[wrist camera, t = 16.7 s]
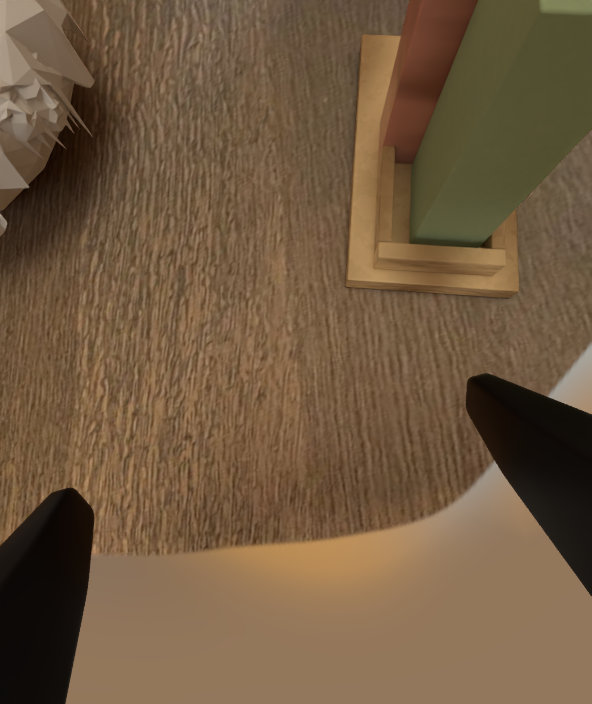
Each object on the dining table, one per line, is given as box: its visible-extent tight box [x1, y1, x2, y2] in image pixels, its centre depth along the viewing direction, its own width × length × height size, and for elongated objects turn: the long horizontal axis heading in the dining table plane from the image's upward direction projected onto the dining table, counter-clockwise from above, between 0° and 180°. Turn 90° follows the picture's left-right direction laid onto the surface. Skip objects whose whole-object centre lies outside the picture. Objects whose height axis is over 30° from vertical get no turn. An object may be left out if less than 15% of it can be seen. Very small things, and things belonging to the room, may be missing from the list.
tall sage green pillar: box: [409, 0, 592, 248], centre depth 17 cm, size 4×6×13 cm
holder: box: [345, 0, 519, 298], centre depth 19 cm, size 10×18×11 cm, turn 175°
